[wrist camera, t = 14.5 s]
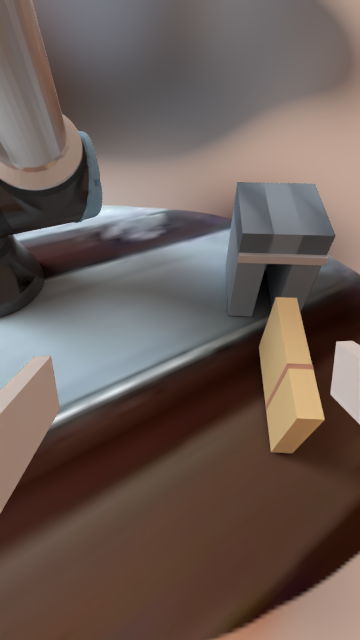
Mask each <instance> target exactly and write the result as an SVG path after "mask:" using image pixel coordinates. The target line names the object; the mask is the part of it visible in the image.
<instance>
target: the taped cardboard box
mask: <svg viewBox="0 0 360 640" xmlns="http://www.w3.org/2000/svg"><path fill="white" fill-rule="evenodd" d="M259 352H260V361H261V370H262V378H263V387H264V396H265V404H266V405H265V408H266V413H267V422H268V430H269V439H270V448H271V452H277V453H293V452H294V451H295V450H296V449H297V448H298V447H299V446H300V445H301V444H302V443H303V442H304V441H305V440H306V439H307V438H308V437H309V436H310V434H311V433H312V432H313V431H314V430H315V429H316V428H317V427H318V426H319V425H320V424H321V423H322V422H323V421H324V420H325V418H324V414H323V410H322V405H321V401H320V397H319V392H318V388H317V384H316V379H315V375H314V371H313V370H314V368H313V364H312V362H311V357H310V353H309V349H308V344H307V340H306V336H305V331H304V327H303V323H302V318H301V314H300V310H299V305H298V301H297V298H285V297H276V298H275V301H274V304H273V307H272V310H271V313H270V316H269V319H268V322H267V325H266V328H265V330H264V333H263V336H262V339H261V342H260V345H259Z"/></svg>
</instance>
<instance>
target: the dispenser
mask: <svg viewBox="0 0 360 640" xmlns="http://www.w3.org/2000/svg"><path fill="white" fill-rule="evenodd" d="M334 238H335V233H334V231H333V228H332V226H331V223H330V221H329V218H328V216H327V213H326V211H325V208H324V205H323V203H322V201H321V198H320V196H319V193H318V190H317V188H316V185H315V184H298V183H297V184H296V183H245V182H237V188H236V195H235V203H234V210H233V217H232V224H231V231H230V238H229V246H228V253H227V260H226V281H227V302H228V316H252V314H253V310H254V306H255V303H256V299H257V295H258V292H259V288H260V284H261V281H262V277H263V273H264V270H266V273H267V279H268V285H269V291H270V297H271V304H272V307H273V304H274V301H275V298H276V297H285V298H297V301H298V305H299V310H300V312H301V310H302V308H303V305H304V303H305V301H306V299H307V297H308V295H309V292H310V290H311V288H312V286H313V284H314V281H315V279H316V277H317V275H318V273H319V271H320V268H321V266H322V265H325V263H326V261H327V259H328V258H327V253H328V251H329V249H330V246H331V244H332V242H333V240H334Z"/></svg>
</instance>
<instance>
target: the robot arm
mask: <svg viewBox="0 0 360 640" xmlns="http://www.w3.org/2000/svg"><path fill="white" fill-rule="evenodd" d="M101 207H102V188H101V183H100V173H99V167H98V162H97V158H96V154H95V151H94V147H93V144H92V142H91V140H90V138H89V136H88V135H87V134H86V133H85V132H81V131H78V130H77V129H76V127H75V126H74V125H73V123H72V122H71V121H70V120H69V119H68V118H67V117H66V116H64V115H62V113H61V109H60V105H59V102H58V98H57V94H56V90H55V86H54V82H53V79H52V75H51V71H50V67H49V63H48V59H47V56H46V52H45V48H44V44H43V40H42V37H41V33H40V29H39V25H38V21H37V17H36V14H35V10H34V6H33V2H32V0H0V317H1V316H5V315H8V314H10V313H13V312H15V311H17V310H19V309H21V308H22V307H24V306H25V305H27V304H28V303H29V302H30V301H32V300H33V299H34V298H35V297H36V295H37V294H38V293H39V291H40V290H41V288H42V286H43V283H44V272H43V270H42V268H41V266H40V264H39V262H38V260H37V259H36V257H35V256H34V255H33V254H31V253H30V252H29V251H28V250H27V249H26V248H25V247H24V246H23V245H22V244H21V243H20V242H19V241H18V240H17V239H16V238H15V237H14V236H13V234H18V233H22V232H27V231H32V230H37V229H42V228H47V227H52V226H56V225H61V224H66V223H71V222H75V223H77V222H81V221H82V220H85V219H89V218H92V217H95V216H97V215H98V214H99V212H100V210H101ZM330 394H331V396H332V397H333V398H334V399H335V400H336V401H337V402H338V403H339V404H340V405H341V406H342V407H343V408H344V409H345V410H346V411H347V412H348V413H349V414H350V415H351V416H352V417H353V418H354V419H355V420H356V421H357V422H358V423H359V424H360V345H358V344H357V343H355V342H354V341H340V342H336V350H335V358H334V367H333V376H332V384H331V393H330ZM59 410H60V407H59V401H58V395H57V389H56V383H55V377H54V371H53V365H52V359H51V356H40V357H33V358H32V359H31V360H30V361H29V362H28V363H27V364H26V365H25V366H24V367H23V368H22V369H21V370H20V371H19V372H18V373H17V374H16V375H15V376H14V377H13V378H12V379H11V380H10V381H9V382H8V383H7V384H6V385H5V386H4V387H3V388H2V389H1V390H0V513H1V511H2V509H3V508H4V506H5V504H6V502H7V501H8V499H9V497H10V496H11V494H12V492H13V490H14V489H15V487H16V485H17V483H18V482H19V480H20V478H21V476H22V475H23V473H24V471H25V469H26V468H27V466H28V464H29V462H30V461H31V459H32V457H33V455H34V454H35V452H36V450H37V448H38V447H39V445H40V443H41V441H42V440H43V438H44V436H45V434H46V433H47V431H48V429H49V427H50V426H51V424H52V422H53V421H54V419H55V417H56V415H57V414H58V412H59Z"/></svg>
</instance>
